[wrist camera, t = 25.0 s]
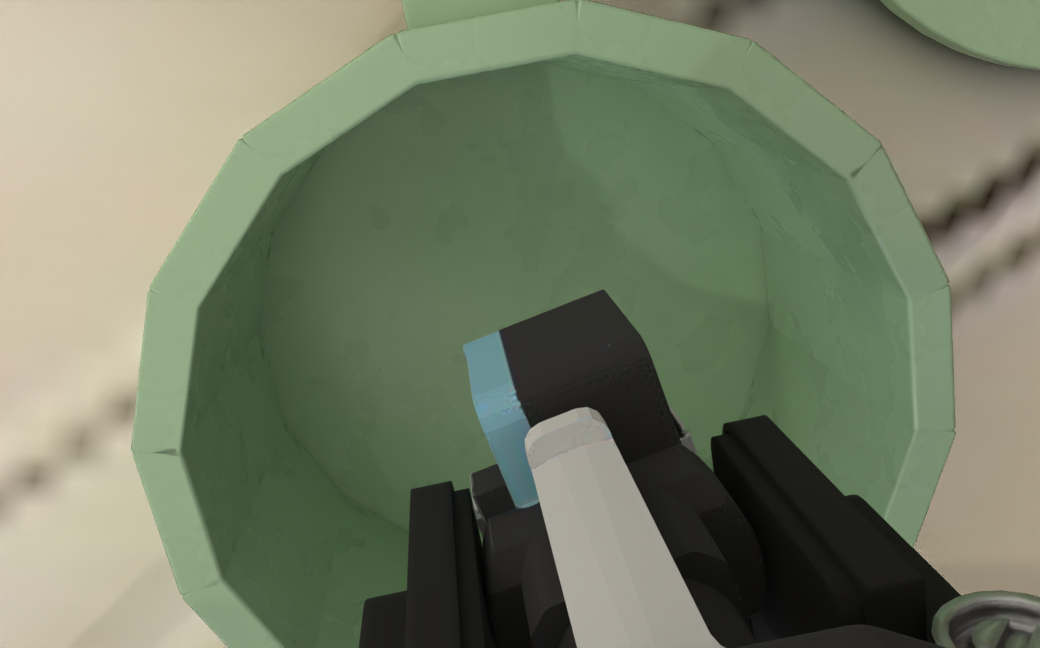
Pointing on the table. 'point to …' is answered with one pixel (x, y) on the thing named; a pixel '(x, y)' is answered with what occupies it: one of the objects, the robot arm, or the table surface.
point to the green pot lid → (979, 27)
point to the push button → (609, 501)
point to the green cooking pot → (518, 290)
